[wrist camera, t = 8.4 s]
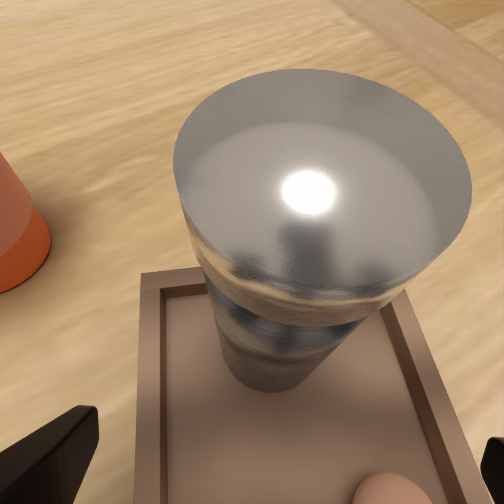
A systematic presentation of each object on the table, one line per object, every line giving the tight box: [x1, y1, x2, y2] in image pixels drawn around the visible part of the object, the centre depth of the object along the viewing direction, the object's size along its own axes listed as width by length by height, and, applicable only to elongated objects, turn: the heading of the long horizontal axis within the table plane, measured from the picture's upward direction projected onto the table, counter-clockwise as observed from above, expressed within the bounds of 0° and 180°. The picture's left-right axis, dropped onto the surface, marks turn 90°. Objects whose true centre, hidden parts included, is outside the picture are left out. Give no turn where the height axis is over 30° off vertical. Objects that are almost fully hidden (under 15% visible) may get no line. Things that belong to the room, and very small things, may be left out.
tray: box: [134, 267, 492, 504], centre depth 15 cm, size 16×14×2 cm
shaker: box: [173, 69, 472, 393], centre depth 12 cm, size 5×5×13 cm
